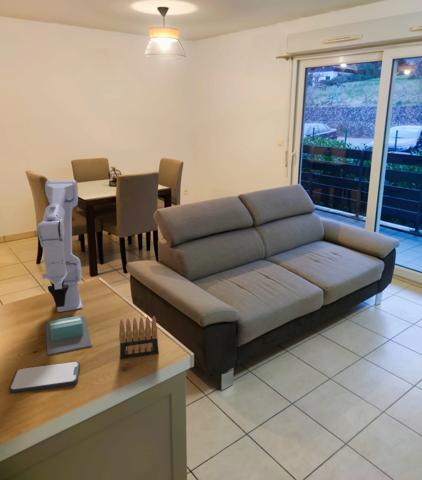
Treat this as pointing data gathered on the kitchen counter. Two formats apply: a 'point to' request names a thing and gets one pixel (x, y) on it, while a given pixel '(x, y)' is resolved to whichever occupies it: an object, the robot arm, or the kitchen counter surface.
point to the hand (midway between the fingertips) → (59, 300)
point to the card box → (66, 328)
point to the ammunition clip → (138, 339)
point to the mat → (68, 341)
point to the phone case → (45, 377)
